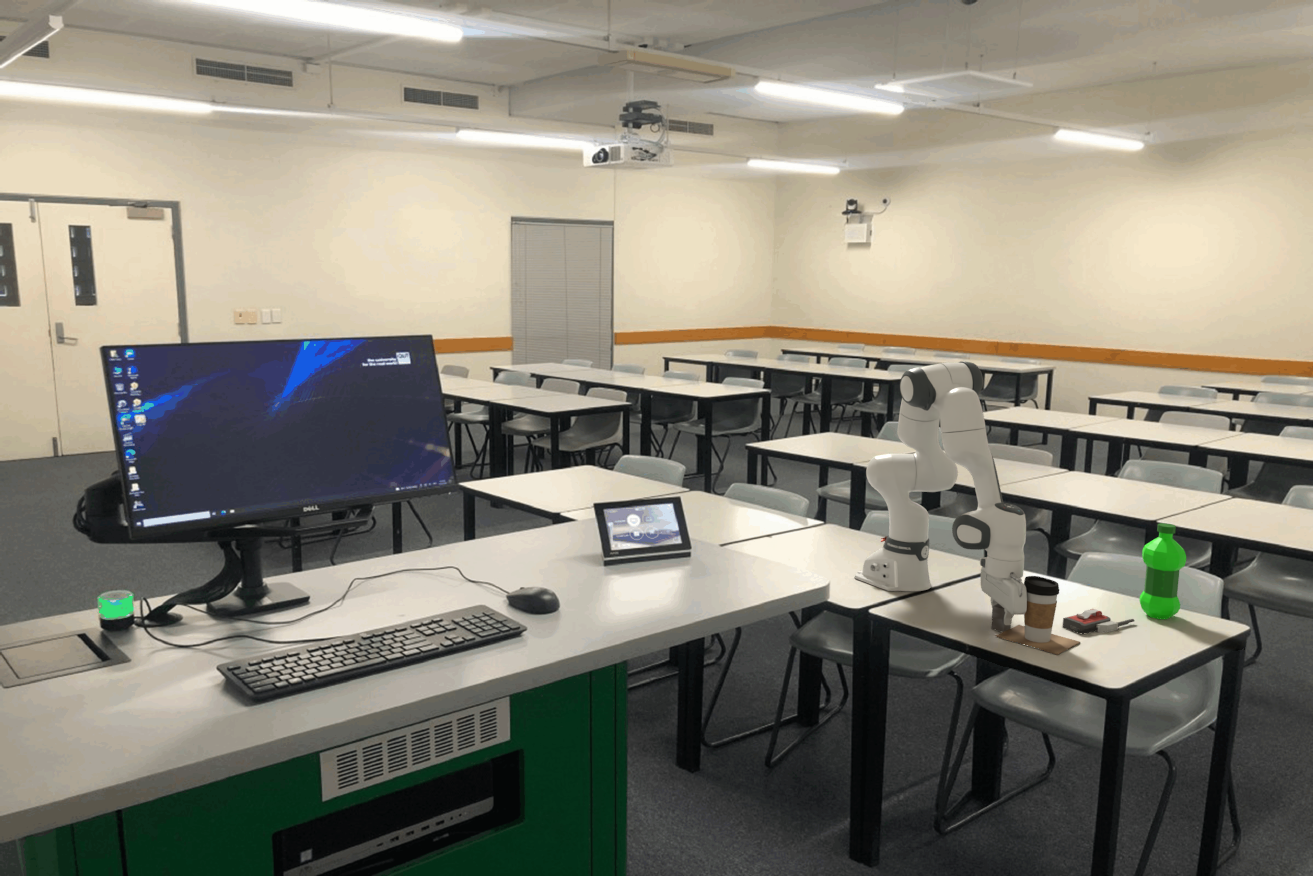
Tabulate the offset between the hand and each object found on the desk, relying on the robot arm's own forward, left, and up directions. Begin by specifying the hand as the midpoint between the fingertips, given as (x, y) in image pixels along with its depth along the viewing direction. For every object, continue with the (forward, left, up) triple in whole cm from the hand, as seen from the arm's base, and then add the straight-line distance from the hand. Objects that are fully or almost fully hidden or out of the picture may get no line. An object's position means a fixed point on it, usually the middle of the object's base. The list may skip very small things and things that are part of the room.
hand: (1001, 619), depth 245 cm
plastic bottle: (+22, +42, -3) cm, 48 cm away
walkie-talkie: (+15, +22, -3) cm, 27 cm away
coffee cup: (+10, 0, -2) cm, 10 cm away
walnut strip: (+8, 0, -3) cm, 8 cm away
